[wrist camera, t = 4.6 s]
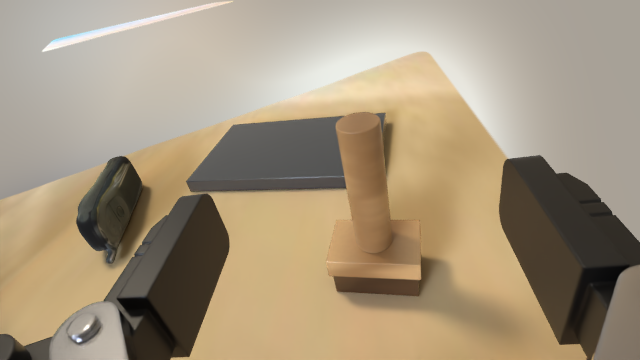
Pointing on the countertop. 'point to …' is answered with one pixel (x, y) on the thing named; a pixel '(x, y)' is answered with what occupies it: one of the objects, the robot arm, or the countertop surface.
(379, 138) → the brush
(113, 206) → the dark green rounded bar
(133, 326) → the robot arm
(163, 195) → the countertop surface
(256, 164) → the slate board
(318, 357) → the countertop surface
